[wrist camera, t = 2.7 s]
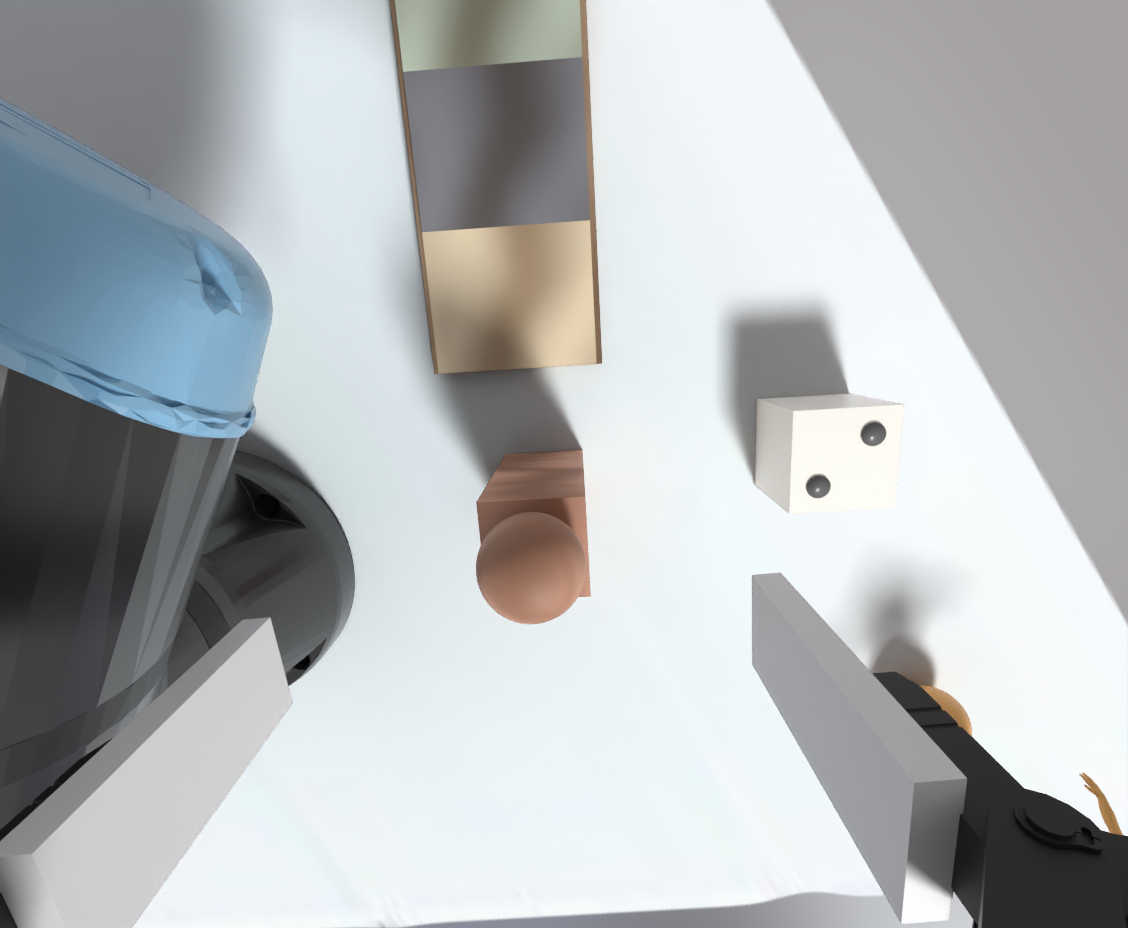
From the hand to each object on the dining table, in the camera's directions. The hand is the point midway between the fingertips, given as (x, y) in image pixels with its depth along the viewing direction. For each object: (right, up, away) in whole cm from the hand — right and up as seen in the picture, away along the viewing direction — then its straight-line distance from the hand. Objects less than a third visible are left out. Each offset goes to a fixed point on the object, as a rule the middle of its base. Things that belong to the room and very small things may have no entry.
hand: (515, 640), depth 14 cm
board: (-2, +20, +12) cm, 24 cm away
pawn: (0, +3, +16) cm, 16 cm away
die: (+15, +6, +15) cm, 22 cm away
